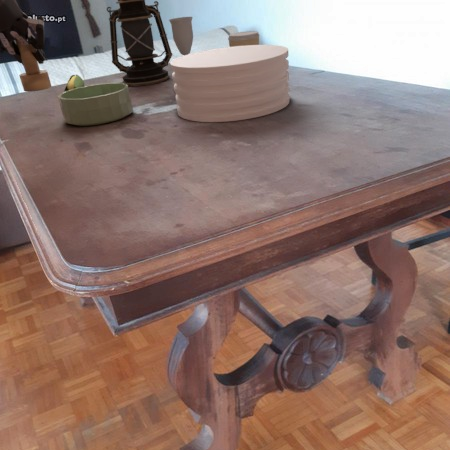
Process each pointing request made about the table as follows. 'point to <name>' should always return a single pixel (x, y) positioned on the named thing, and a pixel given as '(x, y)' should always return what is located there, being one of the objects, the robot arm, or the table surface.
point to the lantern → (139, 42)
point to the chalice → (182, 34)
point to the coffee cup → (244, 38)
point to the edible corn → (74, 82)
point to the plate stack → (231, 83)
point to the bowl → (96, 104)
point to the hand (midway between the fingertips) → (33, 60)
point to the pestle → (32, 72)
